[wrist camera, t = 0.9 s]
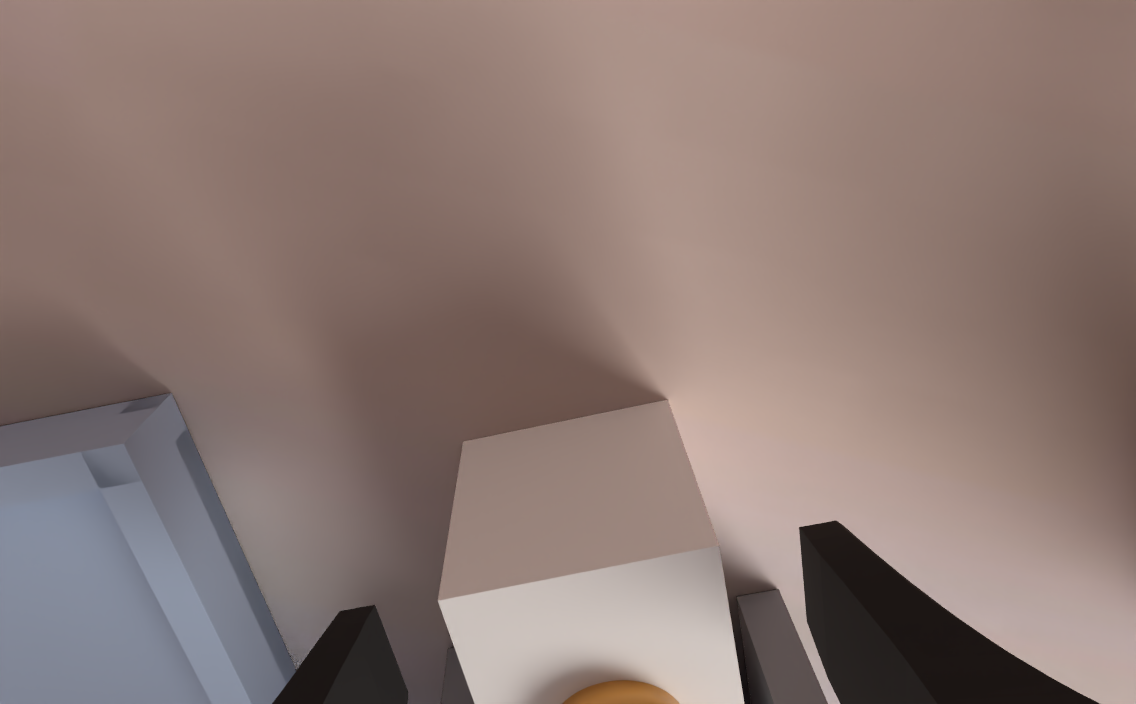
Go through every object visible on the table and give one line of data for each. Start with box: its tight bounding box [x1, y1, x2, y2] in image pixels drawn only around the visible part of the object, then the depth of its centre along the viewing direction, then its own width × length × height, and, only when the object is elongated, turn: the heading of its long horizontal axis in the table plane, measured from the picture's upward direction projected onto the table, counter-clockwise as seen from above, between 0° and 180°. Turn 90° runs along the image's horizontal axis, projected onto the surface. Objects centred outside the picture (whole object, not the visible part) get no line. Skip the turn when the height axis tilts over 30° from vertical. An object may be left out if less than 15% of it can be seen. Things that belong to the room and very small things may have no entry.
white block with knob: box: [438, 400, 744, 704], centre depth 16 cm, size 10×4×6 cm, turn 12°
